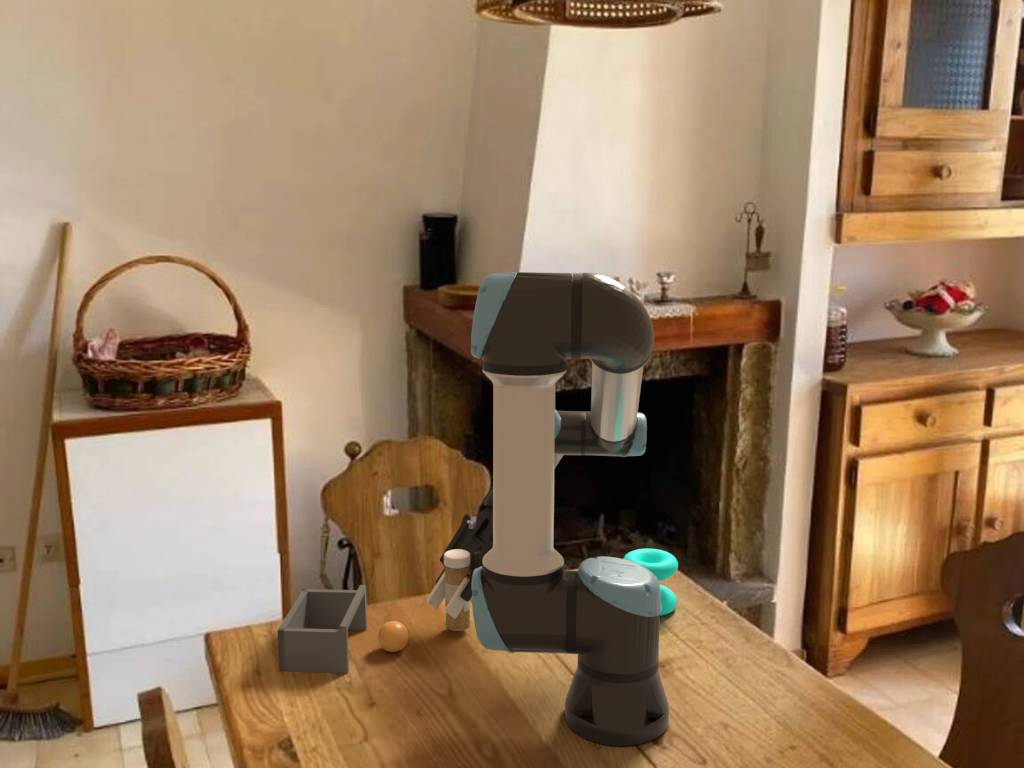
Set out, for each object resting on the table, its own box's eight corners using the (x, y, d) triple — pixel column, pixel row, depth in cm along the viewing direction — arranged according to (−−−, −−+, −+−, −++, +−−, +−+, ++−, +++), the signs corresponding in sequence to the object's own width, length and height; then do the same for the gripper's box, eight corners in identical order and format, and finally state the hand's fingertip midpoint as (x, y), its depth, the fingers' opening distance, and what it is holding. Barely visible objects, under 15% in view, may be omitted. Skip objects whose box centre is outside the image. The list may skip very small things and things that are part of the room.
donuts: (655, 571, 171) (611, 556, 178) (653, 624, 174) (610, 607, 181) (689, 556, 178) (645, 542, 185) (687, 607, 180) (644, 591, 187)
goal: (347, 673, 156) (346, 626, 155) (279, 671, 157) (277, 624, 155) (367, 627, 172) (365, 585, 170) (304, 626, 173) (303, 583, 171)
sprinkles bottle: (475, 627, 170) (475, 554, 167) (453, 634, 168) (452, 560, 165) (462, 618, 174) (461, 546, 171) (439, 624, 171) (438, 551, 169)
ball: (406, 657, 161) (405, 629, 160) (375, 657, 162) (375, 628, 161) (410, 643, 166) (410, 616, 165) (381, 642, 167) (380, 615, 166)
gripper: (557, 519, 171) (485, 636, 163) (491, 496, 183) (422, 603, 176) (535, 497, 166) (460, 616, 159) (469, 474, 179) (397, 584, 171)
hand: (440, 609), depth 167 cm, fingers closed on sprinkles bottle, 4 cm apart
